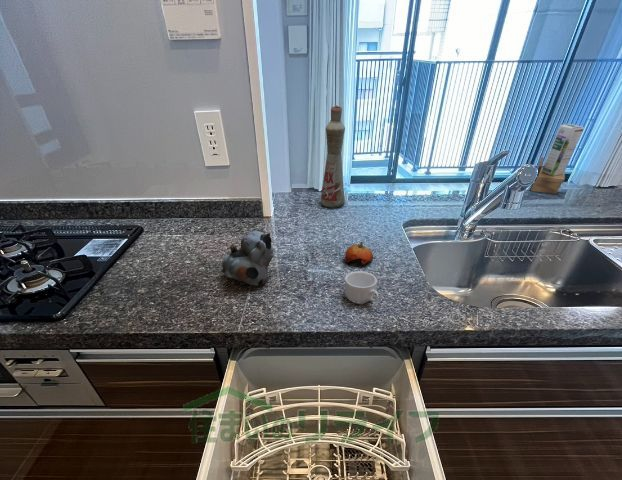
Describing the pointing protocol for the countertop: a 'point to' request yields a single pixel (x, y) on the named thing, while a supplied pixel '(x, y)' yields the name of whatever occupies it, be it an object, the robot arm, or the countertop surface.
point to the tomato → (358, 253)
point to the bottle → (334, 162)
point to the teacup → (360, 287)
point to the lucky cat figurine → (250, 259)
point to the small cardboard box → (547, 181)
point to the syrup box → (562, 149)
